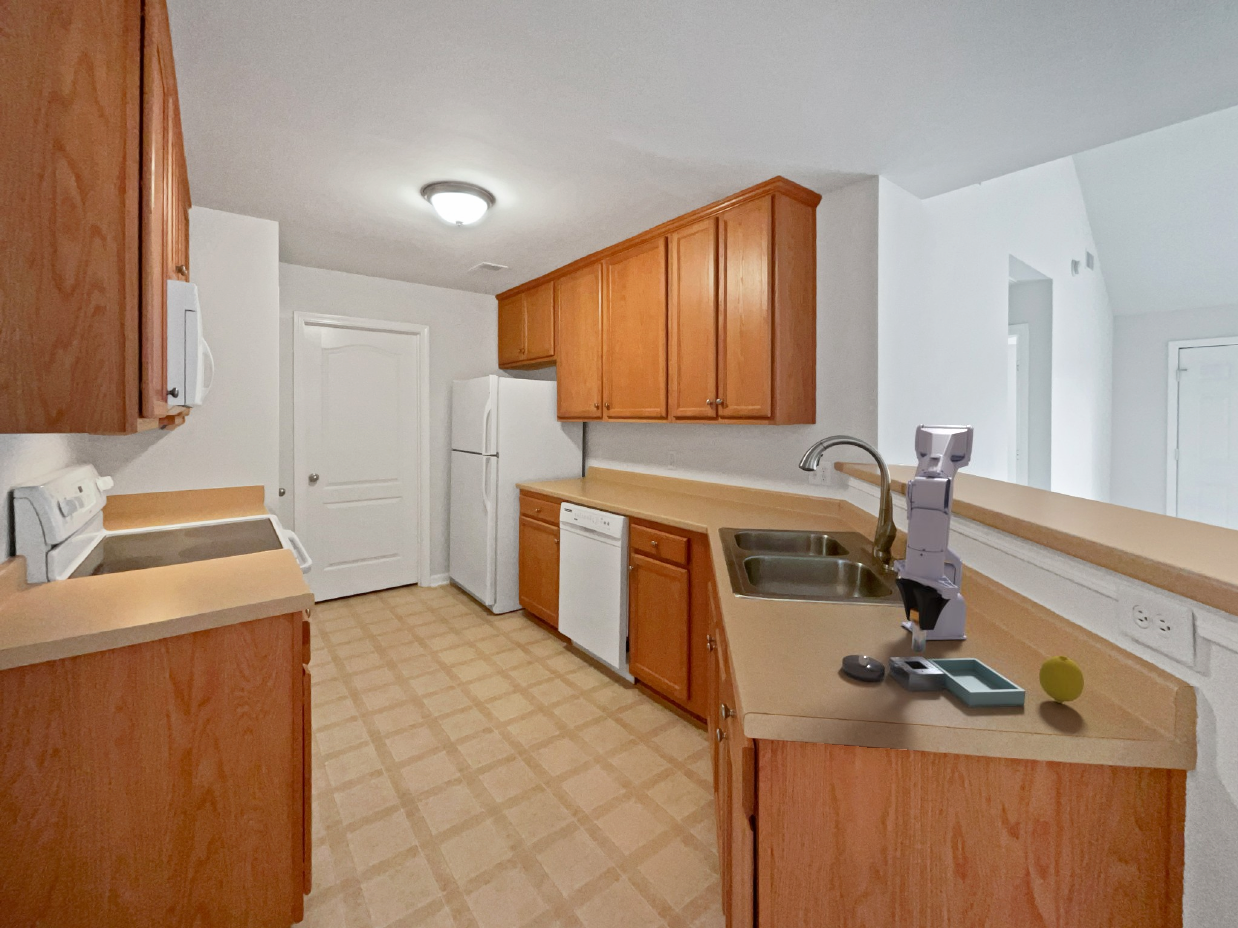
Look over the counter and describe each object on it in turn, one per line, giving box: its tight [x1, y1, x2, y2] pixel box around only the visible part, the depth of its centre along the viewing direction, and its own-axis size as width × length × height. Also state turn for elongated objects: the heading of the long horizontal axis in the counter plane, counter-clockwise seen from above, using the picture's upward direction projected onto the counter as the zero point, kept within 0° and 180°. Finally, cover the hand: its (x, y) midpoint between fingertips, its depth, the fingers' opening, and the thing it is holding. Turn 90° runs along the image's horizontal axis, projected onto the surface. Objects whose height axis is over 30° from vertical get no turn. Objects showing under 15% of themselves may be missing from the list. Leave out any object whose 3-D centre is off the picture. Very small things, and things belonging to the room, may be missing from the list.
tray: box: [925, 657, 1026, 708], centre depth 91 cm, size 9×11×2 cm
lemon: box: [1039, 654, 1085, 704], centre depth 86 cm, size 6×6×8 cm
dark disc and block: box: [841, 654, 944, 692], centre depth 95 cm, size 14×10×3 cm
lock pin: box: [910, 607, 927, 653], centre depth 92 cm, size 3×3×7 cm
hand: (920, 624), depth 92 cm, fingers closed on lock pin, 3 cm apart
